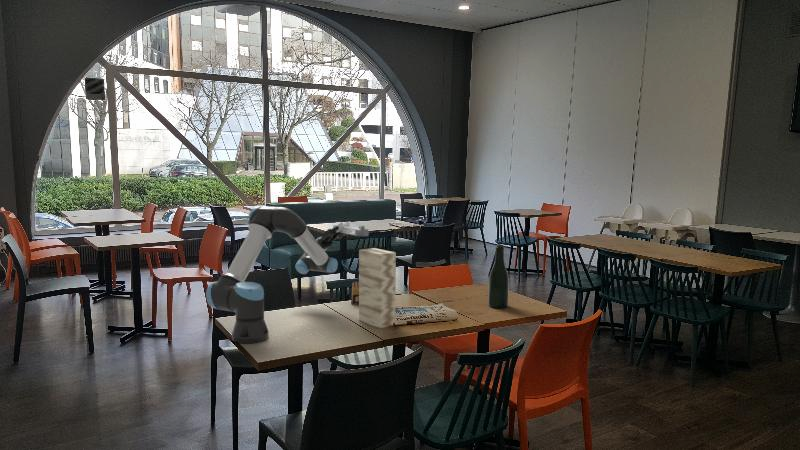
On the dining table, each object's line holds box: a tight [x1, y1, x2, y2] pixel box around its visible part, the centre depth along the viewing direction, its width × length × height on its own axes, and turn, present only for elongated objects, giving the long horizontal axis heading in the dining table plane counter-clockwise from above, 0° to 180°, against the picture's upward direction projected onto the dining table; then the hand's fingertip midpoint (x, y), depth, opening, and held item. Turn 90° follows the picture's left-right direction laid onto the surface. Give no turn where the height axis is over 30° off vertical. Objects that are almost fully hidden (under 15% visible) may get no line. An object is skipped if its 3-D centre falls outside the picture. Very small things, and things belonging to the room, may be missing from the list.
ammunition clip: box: [350, 281, 359, 305], centre depth 296 cm, size 11×2×12 cm, turn 121°
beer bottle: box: [487, 243, 510, 309], centre depth 290 cm, size 10×10×33 cm
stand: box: [358, 247, 397, 329], centre depth 259 cm, size 9×16×34 cm, turn 41°
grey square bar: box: [332, 224, 370, 238], centre depth 272 cm, size 6×25×5 cm, turn 41°
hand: (345, 224), depth 275 cm, fingers closed on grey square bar, 3 cm apart
